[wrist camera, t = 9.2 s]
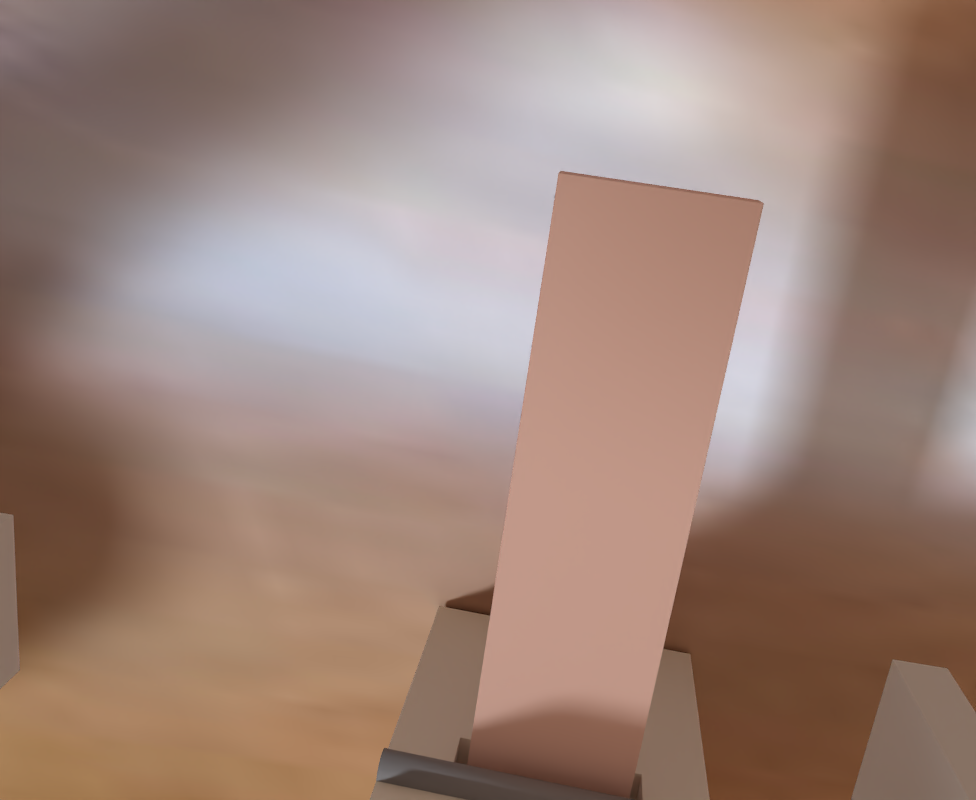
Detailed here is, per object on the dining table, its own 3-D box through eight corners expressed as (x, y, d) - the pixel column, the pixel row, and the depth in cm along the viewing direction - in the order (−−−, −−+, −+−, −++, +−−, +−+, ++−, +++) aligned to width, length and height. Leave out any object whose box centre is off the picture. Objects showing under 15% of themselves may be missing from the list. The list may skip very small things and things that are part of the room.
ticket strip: (462, 801, 36) (458, 820, 35) (560, 170, 28) (558, 173, 27) (616, 834, 35) (616, 854, 34) (758, 200, 28) (763, 203, 27)
